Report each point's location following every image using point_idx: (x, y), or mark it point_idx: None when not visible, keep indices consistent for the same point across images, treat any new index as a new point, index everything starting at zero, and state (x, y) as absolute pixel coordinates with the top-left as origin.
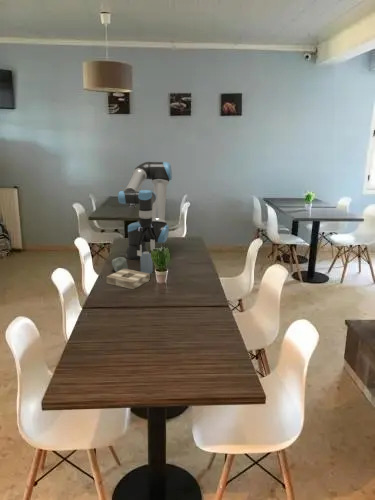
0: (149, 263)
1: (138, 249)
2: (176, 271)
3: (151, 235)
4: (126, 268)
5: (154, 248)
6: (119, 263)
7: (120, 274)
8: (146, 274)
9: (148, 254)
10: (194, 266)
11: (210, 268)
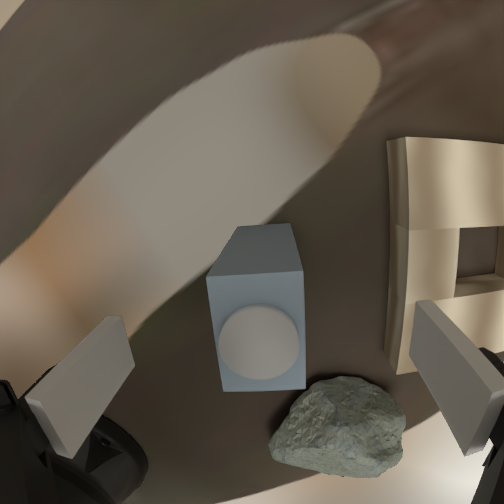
0: (283, 243)
1: (493, 360)
2: (117, 105)
3: (37, 501)
4: (336, 388)
5: (101, 328)
6: (388, 428)
7: (496, 310)
8: (431, 150)
9: (276, 293)
10: (7, 98)
11: (7, 24)
